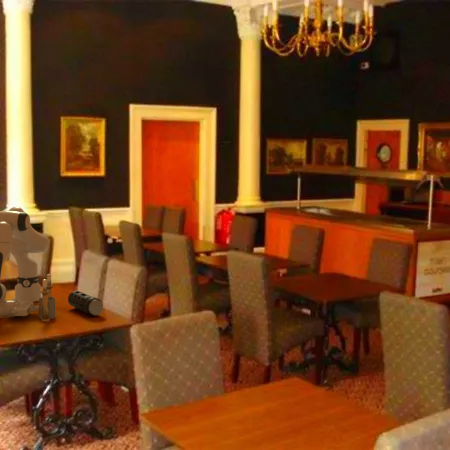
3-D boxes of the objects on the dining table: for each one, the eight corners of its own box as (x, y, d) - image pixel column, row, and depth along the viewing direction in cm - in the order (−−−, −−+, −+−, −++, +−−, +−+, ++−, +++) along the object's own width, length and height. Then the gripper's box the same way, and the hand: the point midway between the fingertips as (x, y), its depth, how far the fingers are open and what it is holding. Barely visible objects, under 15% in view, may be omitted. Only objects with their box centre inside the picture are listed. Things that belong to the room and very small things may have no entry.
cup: (58, 316, 370) (58, 298, 369) (47, 320, 363) (46, 301, 362) (47, 314, 375) (47, 296, 374) (35, 317, 368) (35, 299, 367)
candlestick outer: (41, 320, 363) (41, 279, 361) (50, 319, 364) (49, 278, 362) (40, 322, 359) (39, 280, 357) (49, 321, 359) (48, 280, 357)
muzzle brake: (83, 307, 395) (83, 289, 393) (104, 317, 372) (104, 297, 371) (67, 309, 389) (67, 291, 388) (87, 319, 366) (87, 299, 365)
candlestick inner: (46, 313, 379) (45, 273, 377) (54, 312, 380) (53, 273, 377) (45, 314, 375) (44, 275, 373) (53, 314, 375) (52, 275, 373)
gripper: (8, 307, 356) (35, 306, 358) (15, 298, 376) (41, 298, 378) (8, 319, 357) (36, 318, 358) (15, 310, 377) (42, 309, 378)
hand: (39, 308), depth 368 cm, fingers closed, pressing on cup
